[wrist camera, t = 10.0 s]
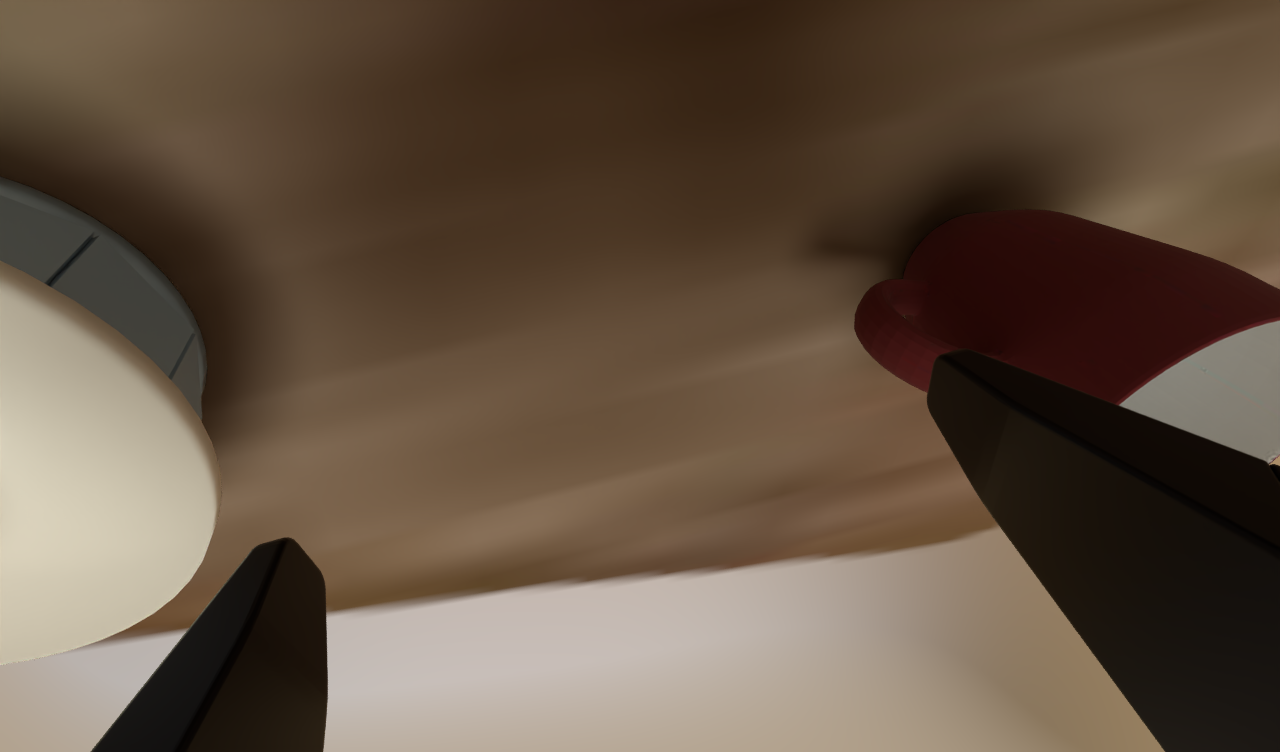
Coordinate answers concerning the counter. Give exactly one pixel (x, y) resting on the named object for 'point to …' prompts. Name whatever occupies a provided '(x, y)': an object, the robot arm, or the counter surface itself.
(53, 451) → the lid
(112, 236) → the bowl
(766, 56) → the counter surface
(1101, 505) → the robot arm
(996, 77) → the counter surface
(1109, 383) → the mug
